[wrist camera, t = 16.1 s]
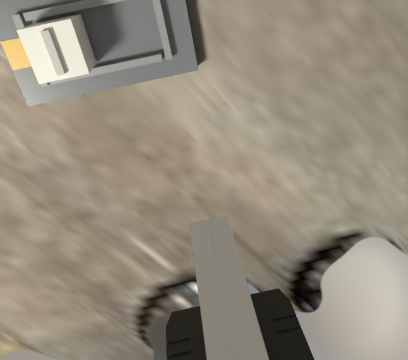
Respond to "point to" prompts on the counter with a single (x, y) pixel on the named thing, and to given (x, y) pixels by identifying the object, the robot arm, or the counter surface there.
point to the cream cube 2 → (58, 48)
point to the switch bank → (104, 43)
